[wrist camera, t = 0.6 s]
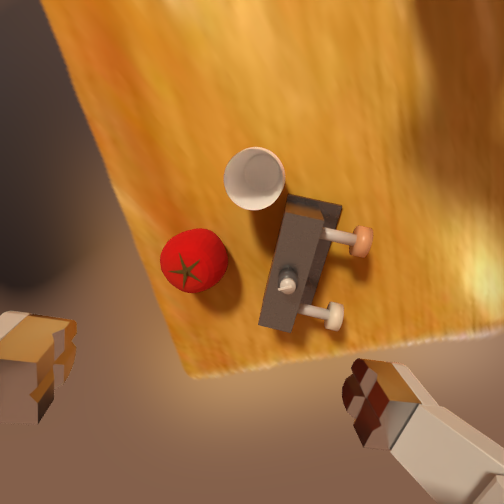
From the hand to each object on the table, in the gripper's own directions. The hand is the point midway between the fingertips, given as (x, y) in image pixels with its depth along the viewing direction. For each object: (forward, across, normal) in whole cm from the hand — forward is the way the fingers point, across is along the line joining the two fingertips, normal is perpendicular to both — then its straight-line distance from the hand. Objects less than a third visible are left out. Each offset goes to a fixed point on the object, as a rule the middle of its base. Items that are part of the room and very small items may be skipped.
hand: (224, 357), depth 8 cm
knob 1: (+39, -22, +19) cm, 49 cm away
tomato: (+50, 0, +16) cm, 52 cm away
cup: (+47, -7, -2) cm, 48 cm away
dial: (+34, -14, +13) cm, 39 cm away
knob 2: (+39, -21, +5) cm, 45 cm away
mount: (+45, -18, +12) cm, 50 cm away
